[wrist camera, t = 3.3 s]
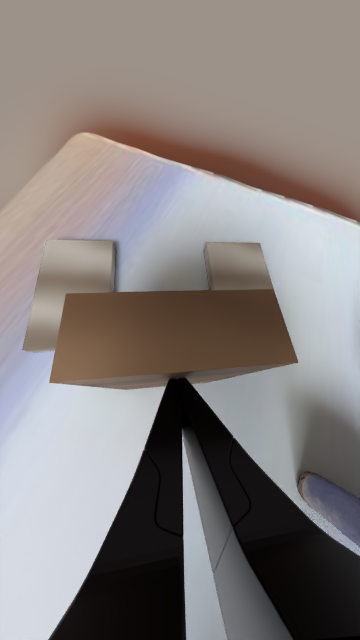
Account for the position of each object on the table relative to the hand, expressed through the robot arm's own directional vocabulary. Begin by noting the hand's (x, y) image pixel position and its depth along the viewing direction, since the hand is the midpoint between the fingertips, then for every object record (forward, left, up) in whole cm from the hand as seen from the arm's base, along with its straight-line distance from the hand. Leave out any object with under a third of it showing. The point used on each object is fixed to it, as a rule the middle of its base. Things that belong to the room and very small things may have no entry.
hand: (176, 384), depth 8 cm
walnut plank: (+1, -1, -9) cm, 9 cm away
